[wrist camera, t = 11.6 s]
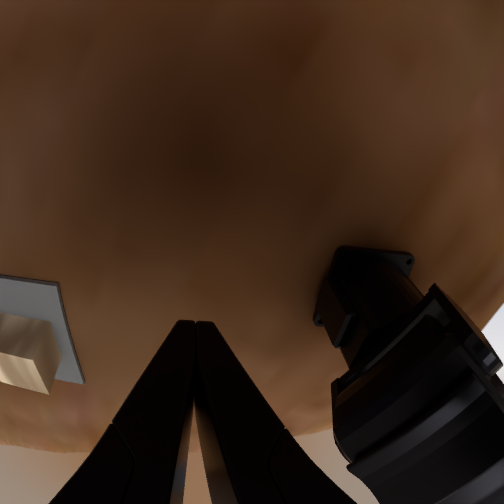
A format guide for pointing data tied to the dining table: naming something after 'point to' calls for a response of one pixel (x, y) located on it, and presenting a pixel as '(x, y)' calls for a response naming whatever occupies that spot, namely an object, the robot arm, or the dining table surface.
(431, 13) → the dining table surface
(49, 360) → the pillar
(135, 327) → the dining table surface
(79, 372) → the mat
